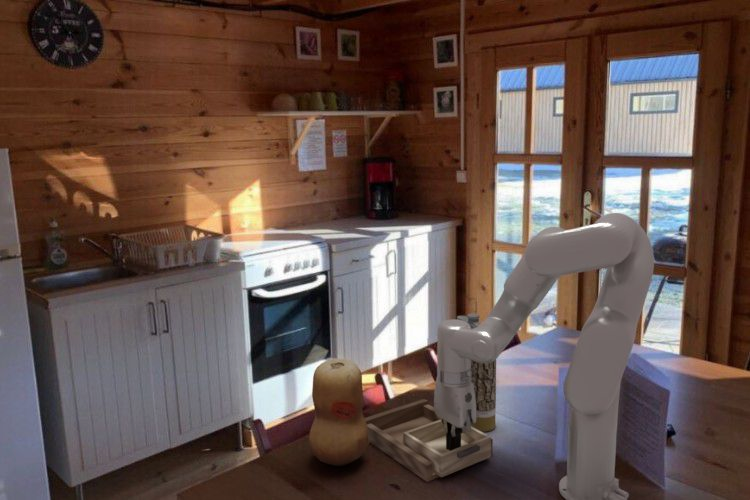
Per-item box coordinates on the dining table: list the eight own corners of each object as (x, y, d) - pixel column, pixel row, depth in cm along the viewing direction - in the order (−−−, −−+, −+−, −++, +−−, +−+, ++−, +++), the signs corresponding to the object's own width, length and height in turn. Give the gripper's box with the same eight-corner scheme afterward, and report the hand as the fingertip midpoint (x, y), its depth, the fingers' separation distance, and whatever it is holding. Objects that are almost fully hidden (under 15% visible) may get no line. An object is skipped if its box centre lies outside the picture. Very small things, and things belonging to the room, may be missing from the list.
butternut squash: (316, 481, 147) (311, 376, 142) (306, 453, 160) (301, 355, 155) (375, 471, 150) (373, 368, 145) (361, 444, 163) (358, 348, 158)
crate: (493, 458, 153) (494, 438, 152) (444, 479, 144) (444, 458, 143) (451, 434, 165) (451, 415, 164) (403, 452, 157) (403, 432, 156)
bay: (492, 454, 157) (492, 435, 156) (427, 482, 146) (426, 461, 145) (424, 415, 178) (424, 398, 177) (362, 437, 167) (362, 419, 166)
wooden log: (495, 433, 167) (496, 340, 162) (468, 431, 168) (468, 339, 163) (495, 421, 173) (496, 331, 168) (469, 420, 175) (470, 330, 170)
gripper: (489, 381, 145) (488, 457, 148) (444, 361, 157) (444, 432, 160) (464, 389, 140) (463, 467, 144) (420, 368, 153) (420, 441, 156)
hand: (453, 448), depth 152 cm, fingers closed
